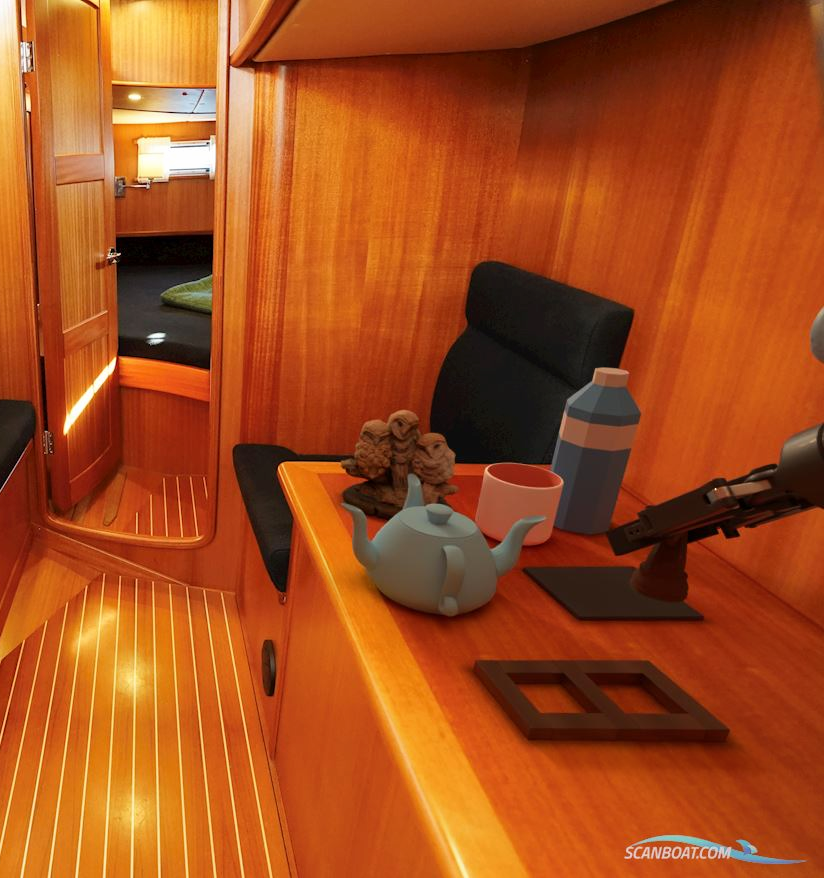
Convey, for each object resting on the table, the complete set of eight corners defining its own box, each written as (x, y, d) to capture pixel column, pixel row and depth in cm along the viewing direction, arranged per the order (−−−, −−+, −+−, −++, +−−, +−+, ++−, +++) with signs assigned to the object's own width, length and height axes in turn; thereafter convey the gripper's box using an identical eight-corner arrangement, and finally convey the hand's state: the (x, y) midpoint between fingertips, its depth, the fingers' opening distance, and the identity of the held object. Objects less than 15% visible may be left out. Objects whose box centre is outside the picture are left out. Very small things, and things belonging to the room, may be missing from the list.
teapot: (395, 542, 108) (406, 469, 104) (529, 594, 94) (549, 512, 90) (330, 579, 99) (339, 501, 95) (467, 643, 85) (486, 555, 80)
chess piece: (625, 591, 73) (649, 505, 70) (634, 572, 76) (657, 489, 73) (683, 608, 70) (711, 519, 67) (690, 588, 73) (717, 502, 70)
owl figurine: (335, 513, 118) (347, 418, 112) (336, 486, 128) (347, 397, 122) (457, 529, 111) (476, 428, 105) (447, 499, 122) (464, 405, 116)
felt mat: (632, 569, 99) (633, 566, 98) (703, 620, 87) (704, 616, 87) (522, 570, 99) (523, 566, 99) (578, 620, 88) (579, 616, 88)
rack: (645, 671, 79) (648, 660, 79) (726, 741, 69) (730, 729, 69) (472, 670, 80) (474, 659, 80) (527, 739, 70) (530, 728, 70)
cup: (459, 527, 112) (470, 469, 109) (501, 514, 116) (513, 458, 112) (520, 555, 103) (534, 493, 100) (564, 540, 107) (579, 480, 103)
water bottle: (527, 507, 118) (560, 363, 109) (588, 509, 116) (626, 363, 108) (557, 533, 109) (596, 379, 100) (623, 535, 108) (668, 379, 99)
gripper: (801, 510, 52) (573, 583, 73) (1006, 492, 53) (724, 568, 75) (749, 420, 55) (545, 515, 76) (944, 406, 56) (690, 502, 78)
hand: (634, 541), depth 75 cm, fingers closed on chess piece, 4 cm apart
